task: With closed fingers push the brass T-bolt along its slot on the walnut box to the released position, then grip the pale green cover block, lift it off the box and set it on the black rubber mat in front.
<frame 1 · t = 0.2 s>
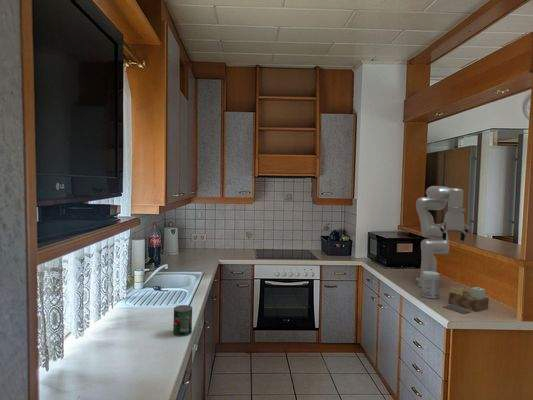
hand: (453, 240, 226), 36 cm above the table, tool pointing down, fingers open, 9 cm apart
cover: (477, 297, 220), point 6 cm above the table, touching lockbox
supplement tub: (429, 297, 239), on the table
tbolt: (459, 290, 226), point 8 cm above the table, slide at 0.0 cm
canned tomato: (182, 333, 172), on the table
mat: (456, 309, 217), on the table
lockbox: (468, 305, 224), on the table
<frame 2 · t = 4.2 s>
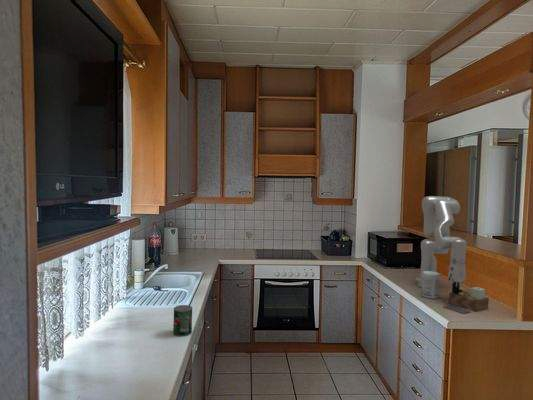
hand: (455, 293, 224), 7 cm above the table, tool pointing down, fingers closed
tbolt: (460, 290, 226), point 8 cm above the table, slide at 0.8 cm, touching gripper
everything else where it was.
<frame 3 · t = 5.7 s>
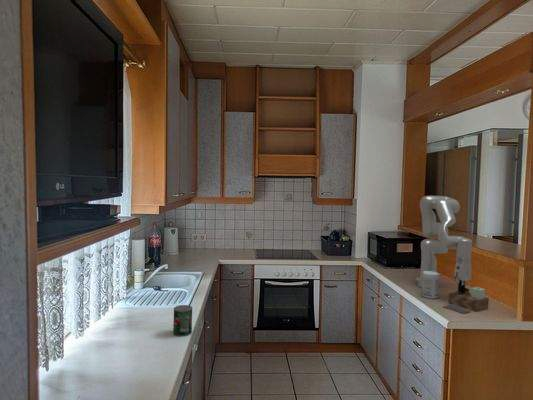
hand: (461, 291, 227), 7 cm above the table, tool pointing down, fingers closed
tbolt: (466, 289, 229), point 8 cm above the table, slide at 6.5 cm, touching gripper
everything else where it was.
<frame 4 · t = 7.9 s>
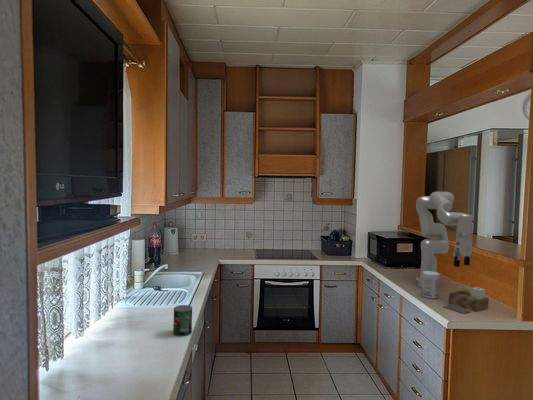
hand: (461, 265, 225), 22 cm above the table, tool pointing down, fingers open, 9 cm apart
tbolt: (466, 289, 229), point 8 cm above the table, slide at 6.5 cm
everything else where it was.
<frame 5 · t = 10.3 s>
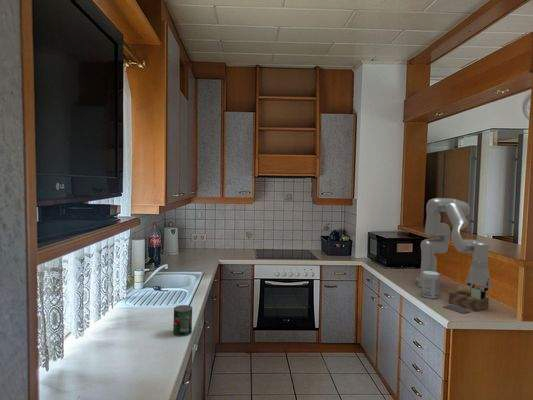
hand: (477, 296, 220), 7 cm above the table, tool pointing down, fingers closed on cover, 5 cm apart
cover: (477, 297, 220), point 6 cm above the table, touching gripper, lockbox
everything else where it was.
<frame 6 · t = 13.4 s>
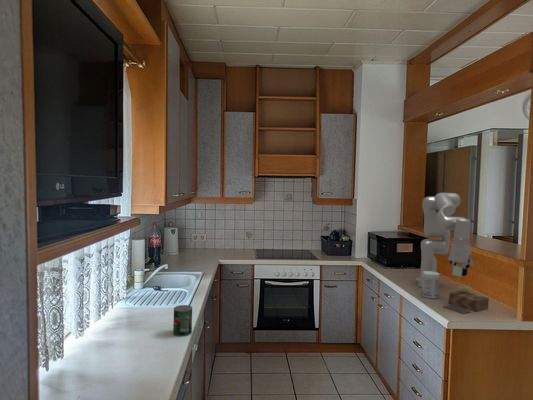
hand: (459, 274, 215), 20 cm above the table, tool pointing down, fingers closed on cover, 5 cm apart
cover: (459, 275, 215), point 19 cm above the table, touching gripper
everything else where it was.
when the fingers open (2 cm above the table, at t = 16.8 s): cover drops 1 cm, resting on mat.
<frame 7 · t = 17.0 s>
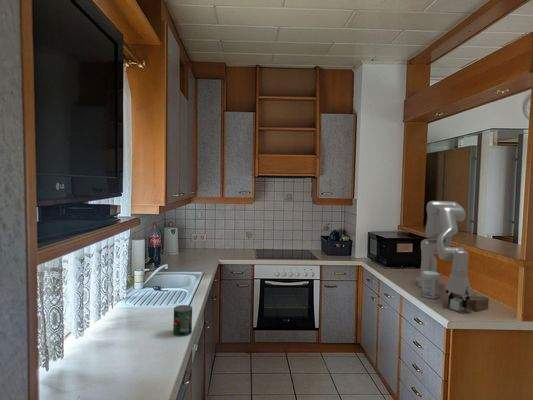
hand: (457, 304, 216), 3 cm above the table, tool pointing down, fingers open, 7 cm apart
cover: (456, 308, 217), resting on mat
everything else where it was.
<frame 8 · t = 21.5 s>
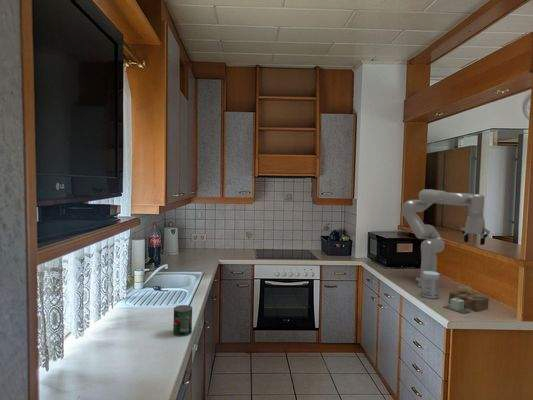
hand: (474, 243, 237), 33 cm above the table, tool pointing down, fingers open, 9 cm apart
nothing on the table moved.
at the end: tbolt slide at 6.5 cm; cover inside the target area on the mat (0.1 cm from its centre), point 0.4 cm above the mat's base; cover tilted 0° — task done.
